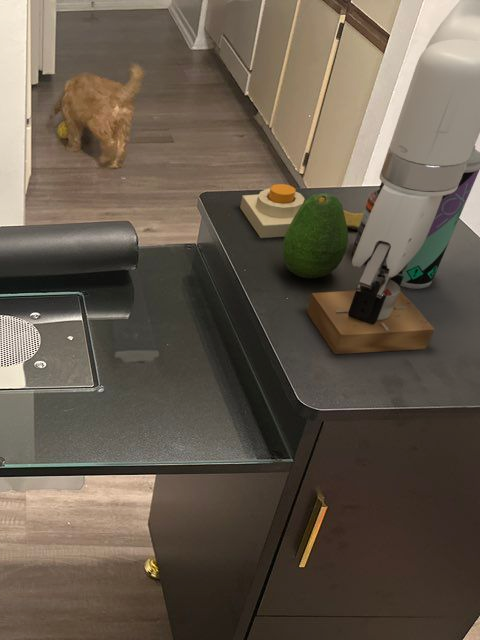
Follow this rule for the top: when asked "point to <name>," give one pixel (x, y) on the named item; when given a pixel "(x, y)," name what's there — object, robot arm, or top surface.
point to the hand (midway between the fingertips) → (370, 308)
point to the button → (282, 194)
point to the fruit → (316, 237)
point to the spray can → (441, 230)
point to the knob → (388, 298)
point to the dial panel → (368, 325)
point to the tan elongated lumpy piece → (353, 219)
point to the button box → (270, 213)
